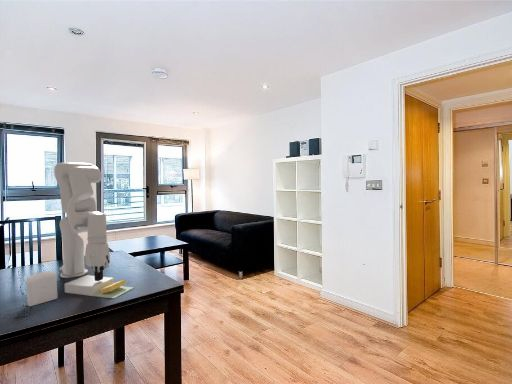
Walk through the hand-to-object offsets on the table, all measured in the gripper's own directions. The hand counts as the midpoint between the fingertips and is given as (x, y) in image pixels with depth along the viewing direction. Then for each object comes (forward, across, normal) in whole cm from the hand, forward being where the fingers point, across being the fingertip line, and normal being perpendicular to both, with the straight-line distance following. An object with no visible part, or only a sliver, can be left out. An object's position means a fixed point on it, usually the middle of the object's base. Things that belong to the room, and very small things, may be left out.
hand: (98, 279), depth 131 cm
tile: (+2, +7, 0) cm, 7 cm away
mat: (+5, +8, 0) cm, 10 cm away
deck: (+5, -5, 0) cm, 7 cm away
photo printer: (+5, -13, -16) cm, 21 cm away
